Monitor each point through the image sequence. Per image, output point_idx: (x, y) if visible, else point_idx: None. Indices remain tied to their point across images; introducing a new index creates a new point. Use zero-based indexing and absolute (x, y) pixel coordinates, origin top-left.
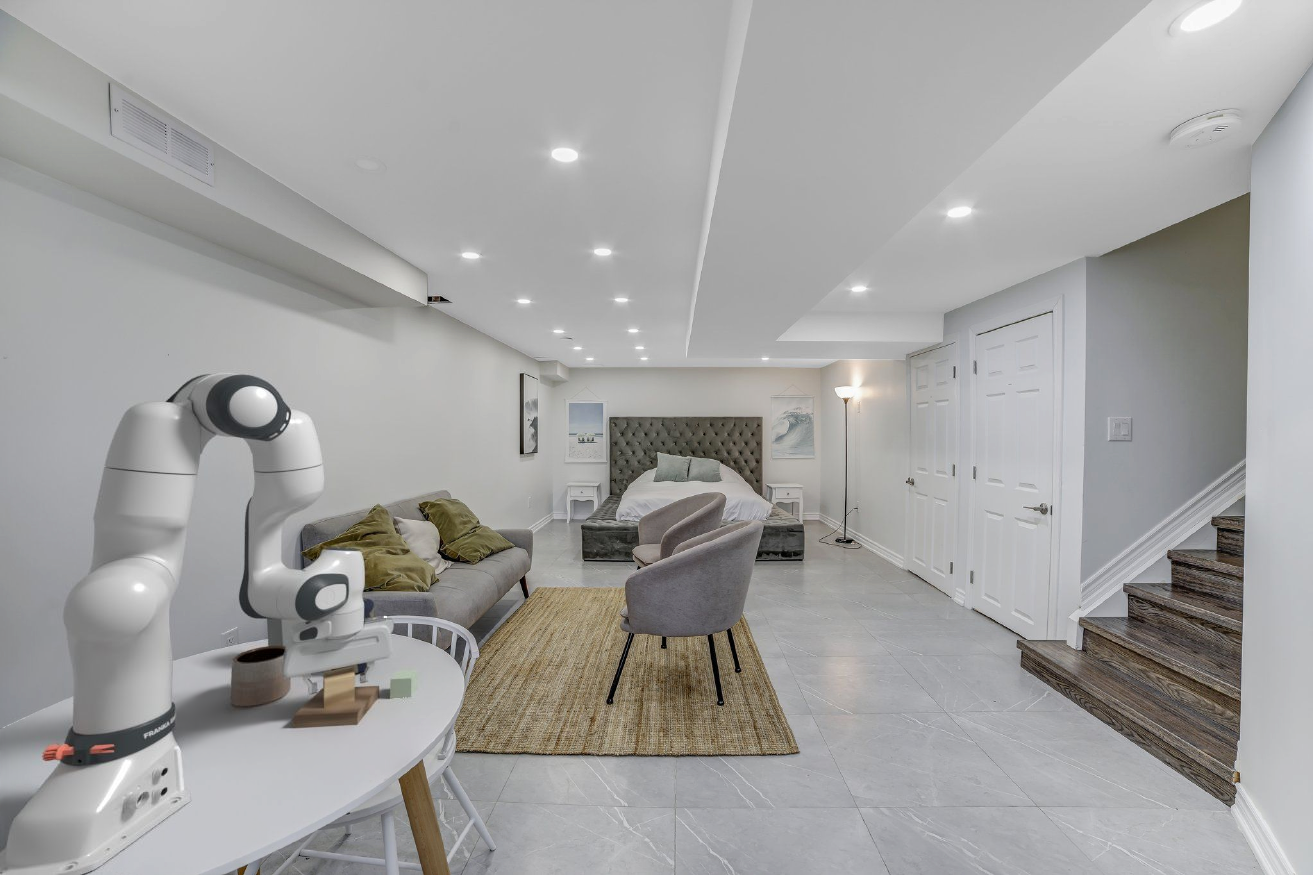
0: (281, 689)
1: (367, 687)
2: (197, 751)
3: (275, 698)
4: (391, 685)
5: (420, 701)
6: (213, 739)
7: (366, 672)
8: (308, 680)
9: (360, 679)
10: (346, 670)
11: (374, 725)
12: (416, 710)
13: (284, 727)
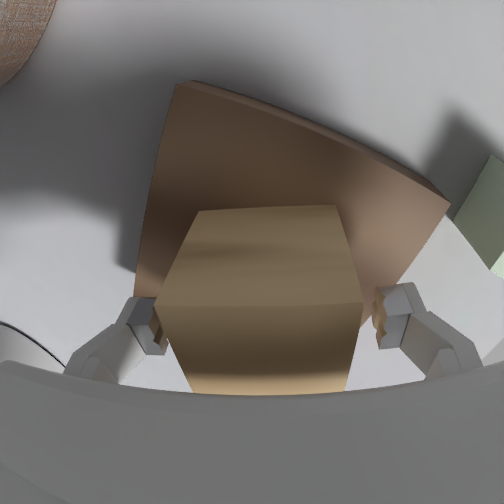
0: (21, 36)
1: (406, 192)
2: (10, 280)
3: (28, 56)
4: (479, 254)
5: (495, 282)
6: (4, 245)
7: (408, 356)
8: (120, 381)
9: (378, 307)
10: (310, 344)
11: (359, 352)
12: (463, 323)
13: (120, 263)
